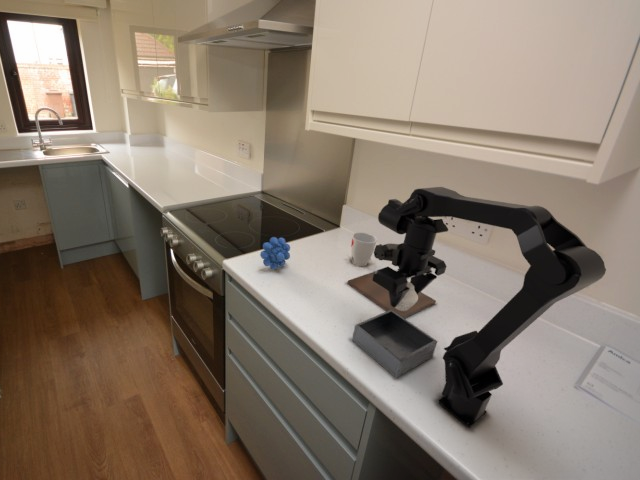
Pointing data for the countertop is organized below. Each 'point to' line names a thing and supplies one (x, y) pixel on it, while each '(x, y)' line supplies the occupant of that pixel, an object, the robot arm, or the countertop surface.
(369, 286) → the board
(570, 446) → the countertop surface
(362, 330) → the dark grey open box
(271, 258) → the grapes
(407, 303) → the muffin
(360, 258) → the cup
